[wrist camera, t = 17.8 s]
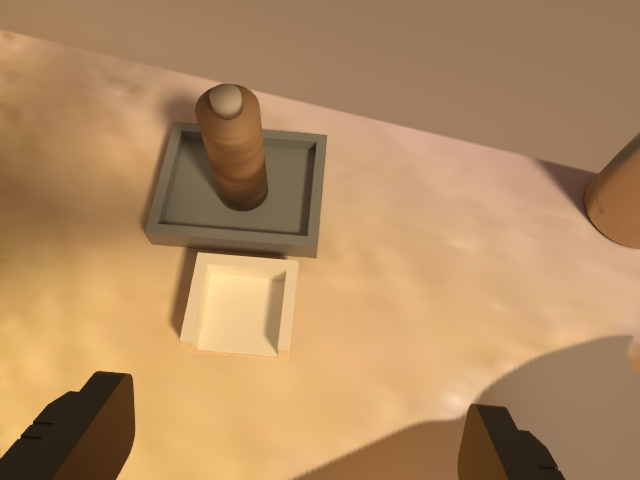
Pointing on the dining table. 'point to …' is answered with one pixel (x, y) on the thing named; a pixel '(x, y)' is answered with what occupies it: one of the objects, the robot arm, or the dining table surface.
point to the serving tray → (236, 226)
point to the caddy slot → (241, 306)
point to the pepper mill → (234, 145)
